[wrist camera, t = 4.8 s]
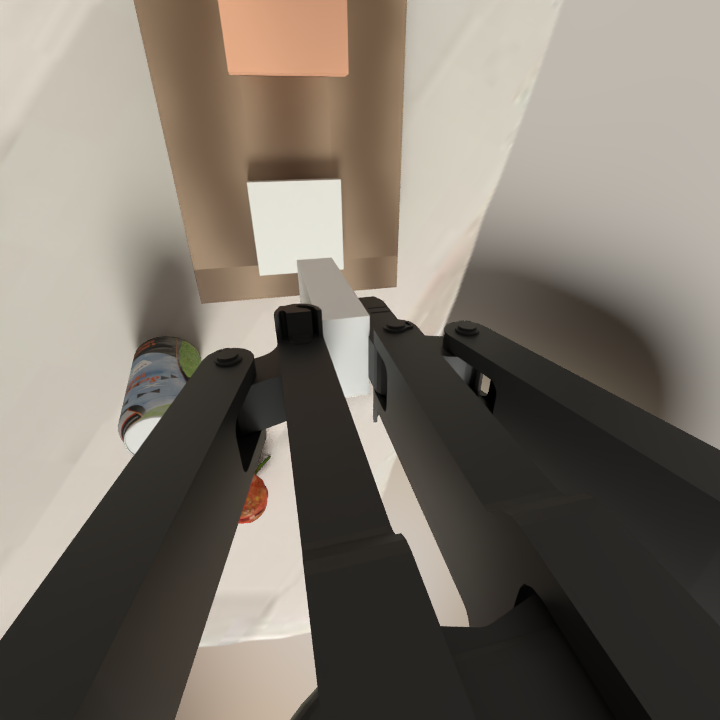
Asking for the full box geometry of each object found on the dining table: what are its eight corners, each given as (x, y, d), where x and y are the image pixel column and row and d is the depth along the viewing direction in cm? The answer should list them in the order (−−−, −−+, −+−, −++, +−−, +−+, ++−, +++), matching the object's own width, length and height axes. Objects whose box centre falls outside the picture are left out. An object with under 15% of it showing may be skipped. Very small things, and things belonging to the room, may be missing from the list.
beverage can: (156, 319, 38) (117, 386, 27) (225, 356, 41) (214, 428, 31) (125, 367, 39) (77, 447, 29) (194, 398, 43) (173, 480, 32)
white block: (259, 250, 36) (259, 275, 29) (249, 173, 33) (246, 182, 26) (328, 245, 37) (343, 269, 31) (324, 171, 34) (340, 179, 27)
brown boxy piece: (211, 276, 37) (201, 303, 31) (140, -68, 26) (104, -131, 20) (376, 264, 40) (396, 287, 34) (379, -50, 28) (410, -100, 22)
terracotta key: (236, 88, 27) (228, 71, 20) (218, -38, 24) (202, -108, 17) (327, 89, 28) (348, 74, 22) (322, -31, 25) (345, -94, 18)
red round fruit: (242, 427, 49) (173, 490, 43) (281, 451, 44) (209, 523, 39) (264, 463, 53) (203, 524, 48) (300, 488, 49) (239, 557, 43)
